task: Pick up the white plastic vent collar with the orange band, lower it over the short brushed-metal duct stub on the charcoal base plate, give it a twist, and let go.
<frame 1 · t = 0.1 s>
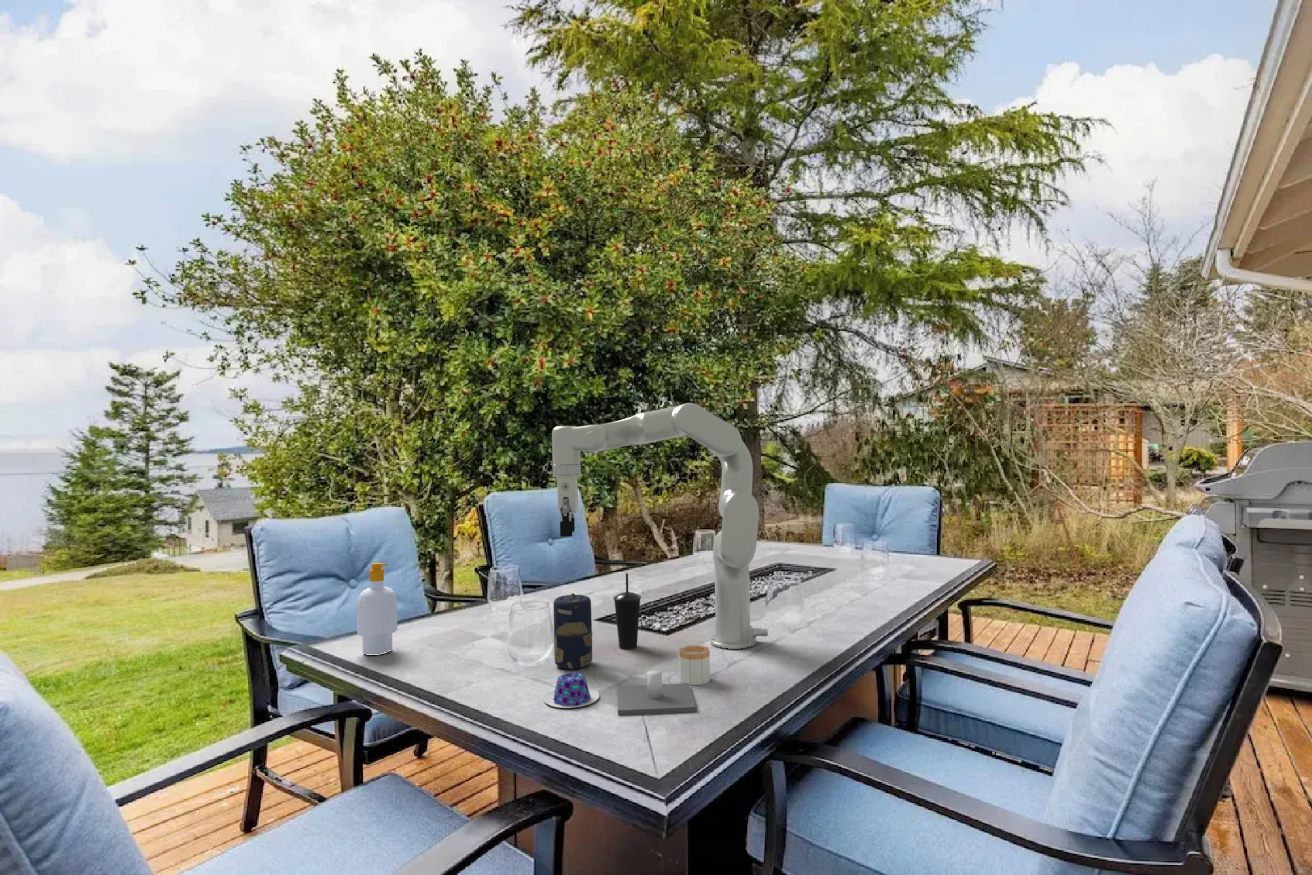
hand: (567, 534, 185), 31 cm above the table, tool pointing down, fingers open, 9 cm apart
pudding: (571, 701, 148), on the table
canister: (573, 666, 171), on the table
soap bottle: (377, 653, 184), on the table
drinking cup: (628, 647, 185), on the table
vent collar: (694, 679, 158), on the table
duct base: (654, 700, 146), on the table
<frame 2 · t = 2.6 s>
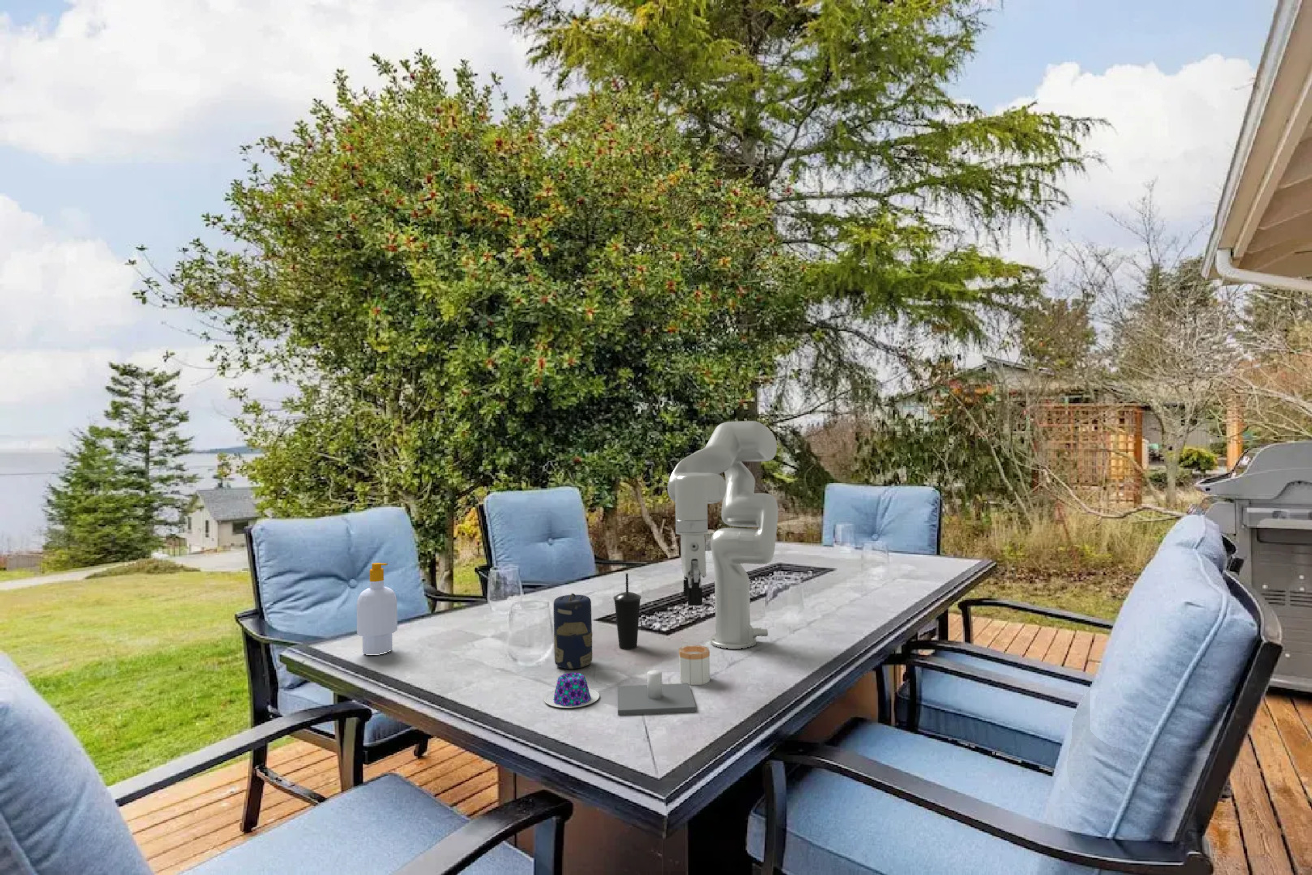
hand: (692, 600, 158), 18 cm above the table, tool pointing down, fingers open, 9 cm apart
nothing on the table moved.
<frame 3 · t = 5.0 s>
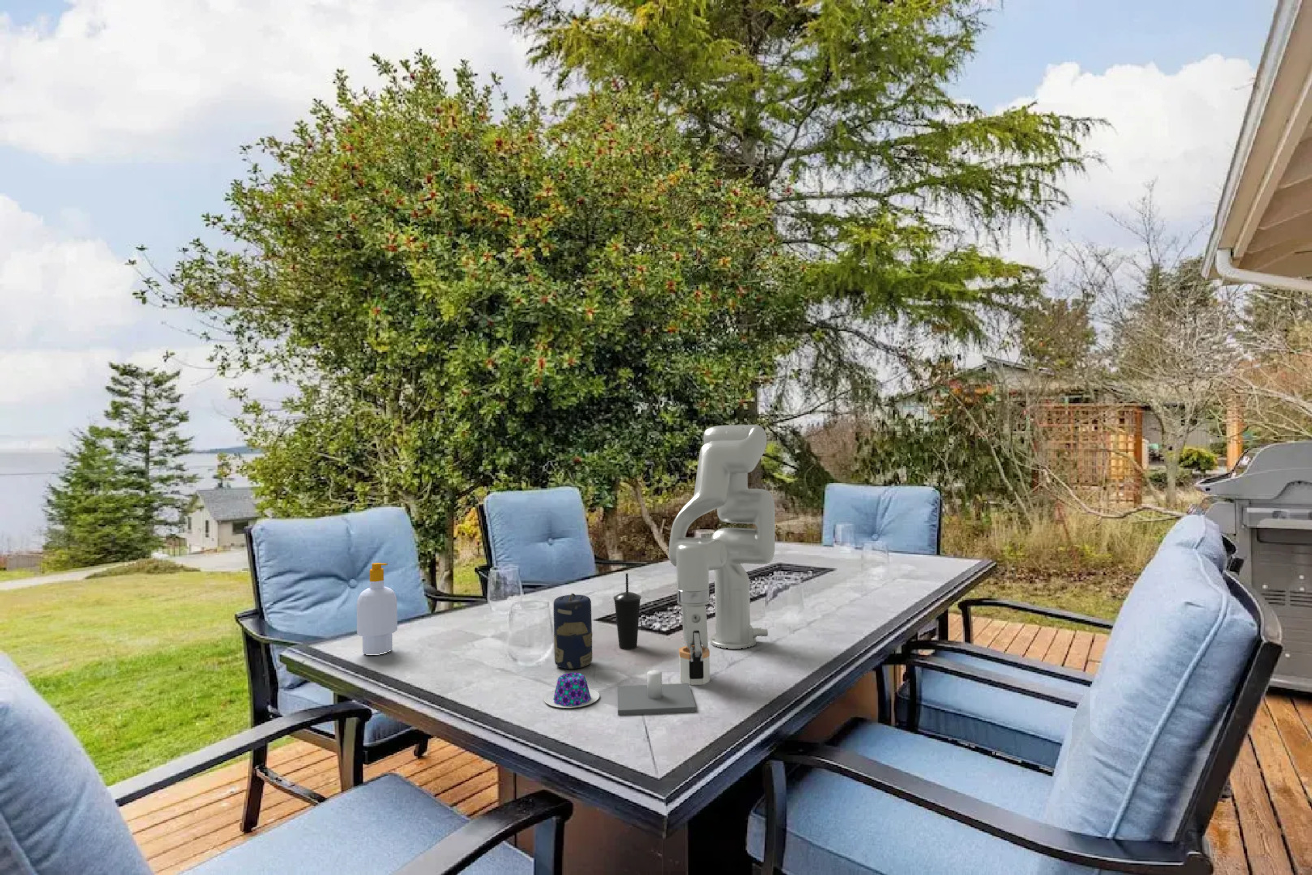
hand: (694, 672, 158), 2 cm above the table, tool pointing down, fingers closed on vent collar, 6 cm apart
vent collar: (694, 679, 158), on the table, touching gripper
everything else where it was.
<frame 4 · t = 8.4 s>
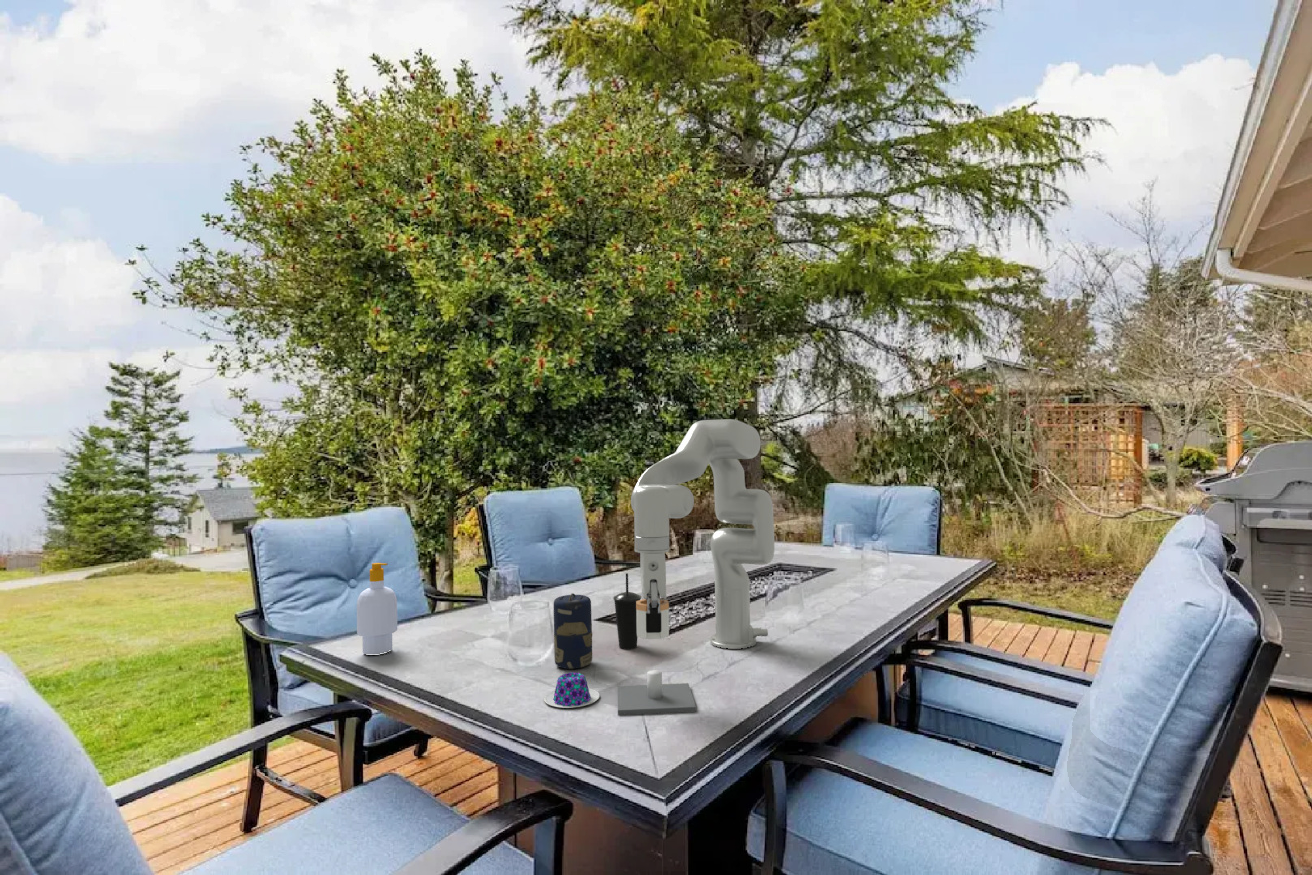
hand: (652, 626, 146), 16 cm above the table, tool pointing down, fingers closed on vent collar, 6 cm apart
vent collar: (652, 634, 146), point 14 cm above the table, touching gripper
everything else where it was.
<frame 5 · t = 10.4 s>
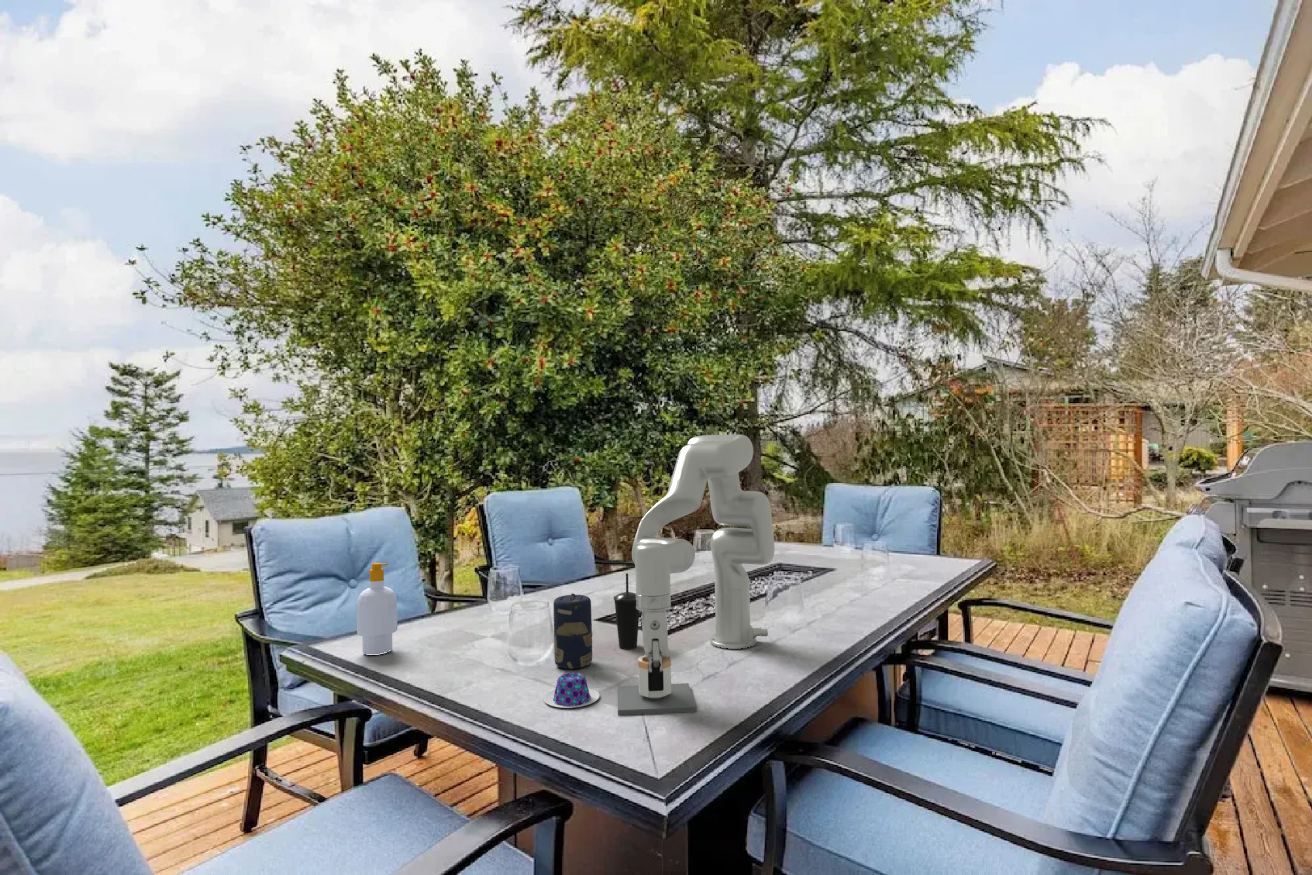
hand: (654, 683, 146), 4 cm above the table, tool pointing down, fingers closed on vent collar, 6 cm apart
vent collar: (654, 691, 146), point 2 cm above the table, touching gripper
everything else where it was.
when the fingers open (4 cm above the table, at t = 12.0 s): vent collar stays where it is, resting on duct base.
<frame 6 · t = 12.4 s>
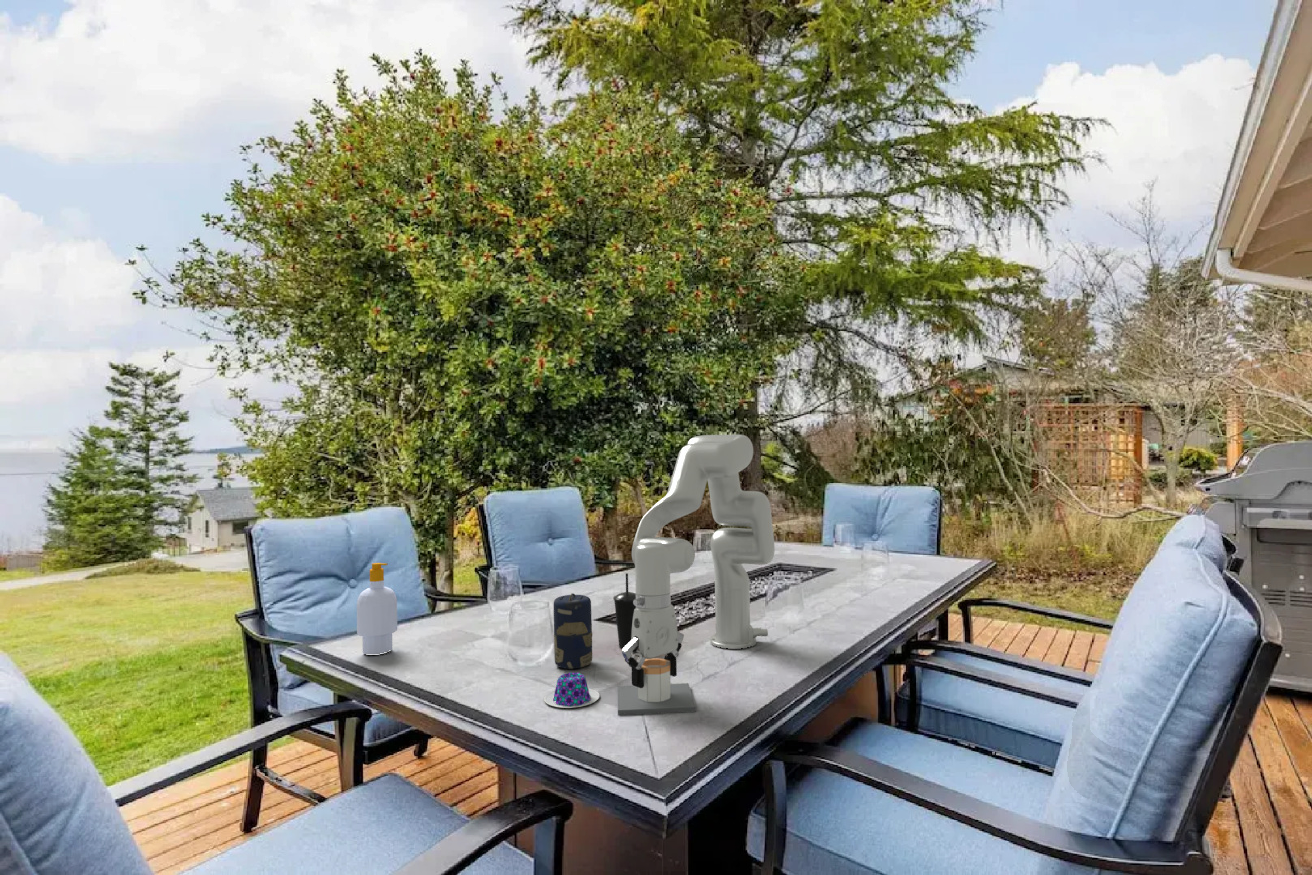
hand: (654, 680, 146), 4 cm above the table, tool pointing down, fingers open, 9 cm apart
vent collar: (654, 695, 146), point 1 cm above the table, touching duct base
everything else where it was.
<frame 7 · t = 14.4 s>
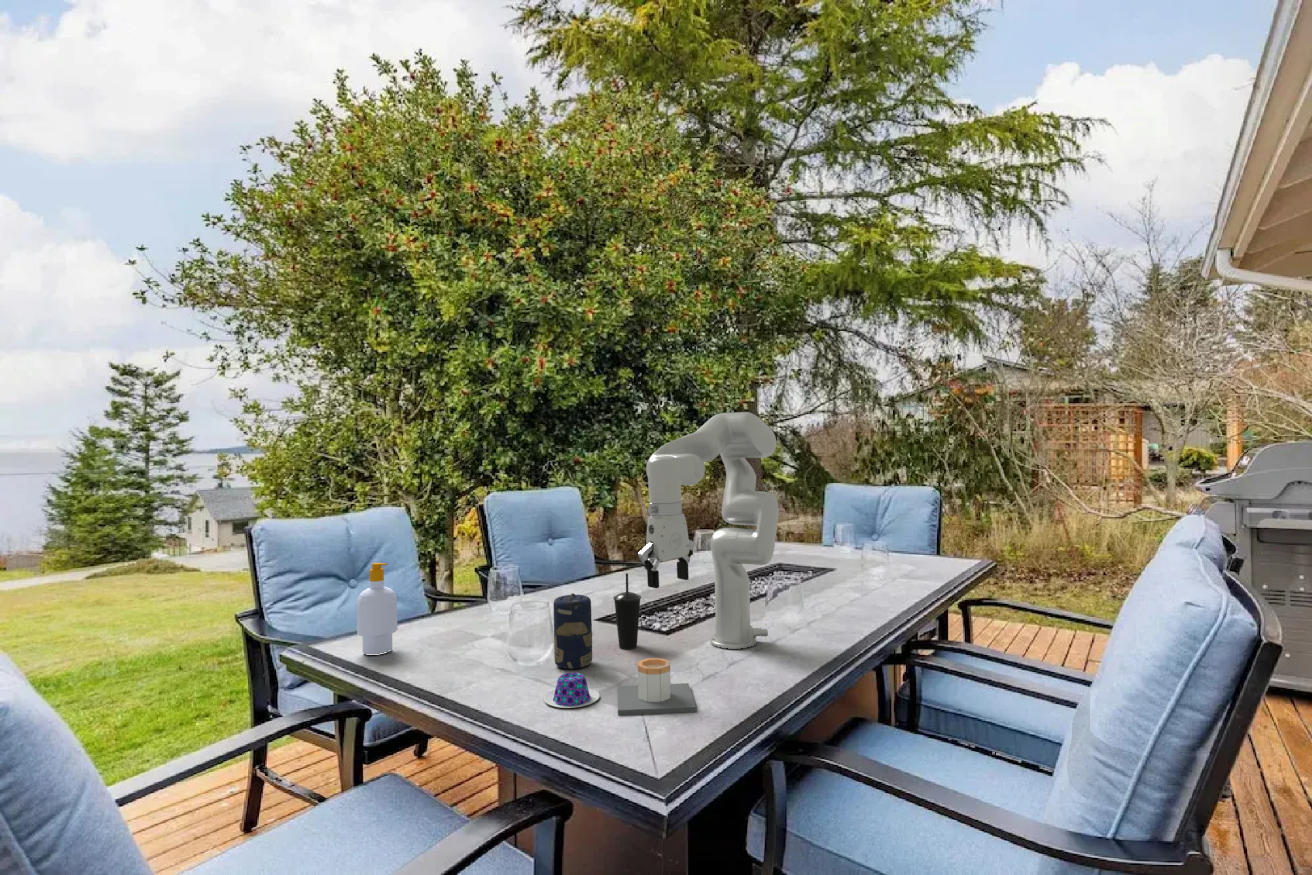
hand: (668, 583, 158), 23 cm above the table, tool pointing down, fingers open, 9 cm apart
nothing on the table moved.
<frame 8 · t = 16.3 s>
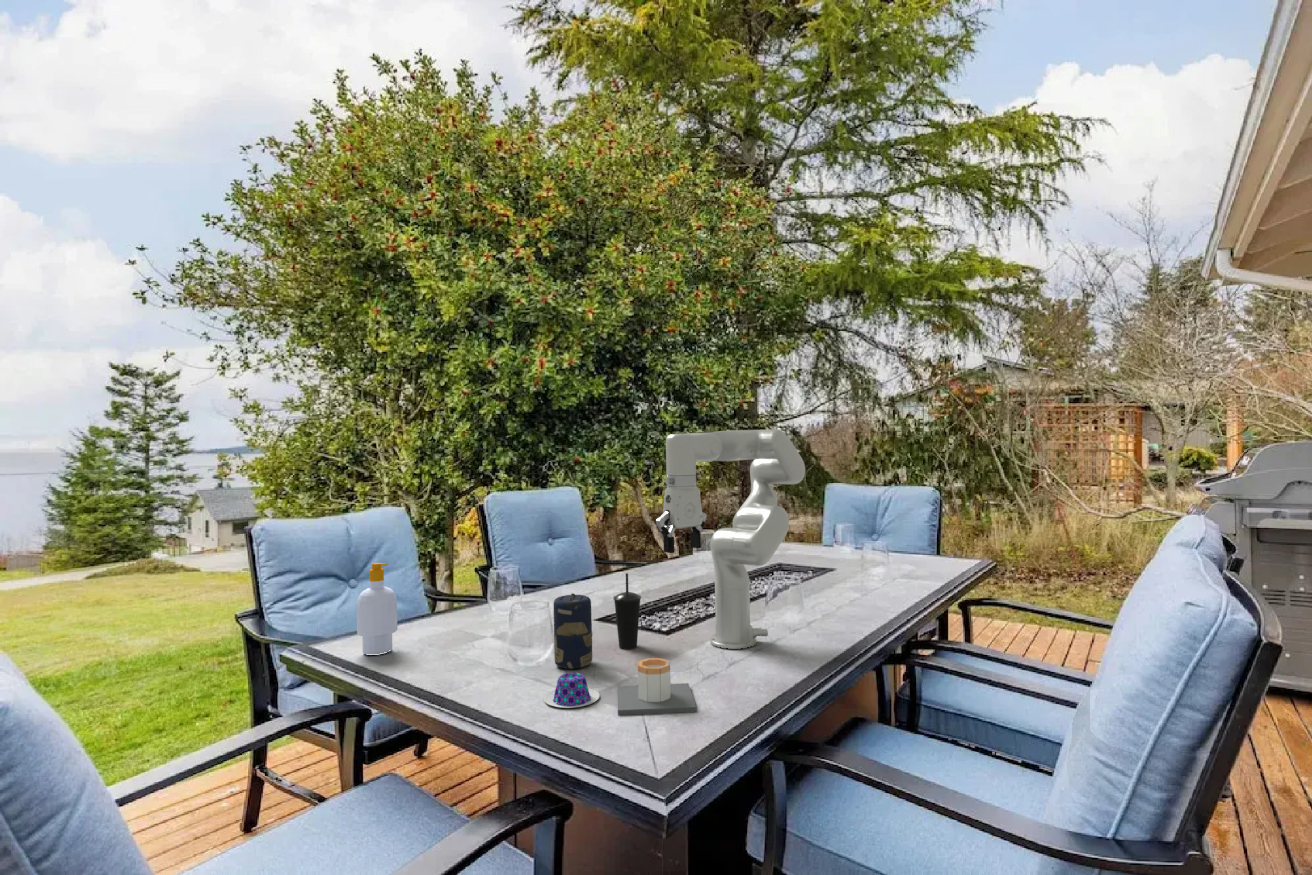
hand: (682, 550, 172), 28 cm above the table, tool pointing down, fingers open, 9 cm apart
at the end: vent collar 0.1 cm off-centre on the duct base, point 1.0 cm above the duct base's base; vent collar tilted 0°; the gripper is holding nothing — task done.
